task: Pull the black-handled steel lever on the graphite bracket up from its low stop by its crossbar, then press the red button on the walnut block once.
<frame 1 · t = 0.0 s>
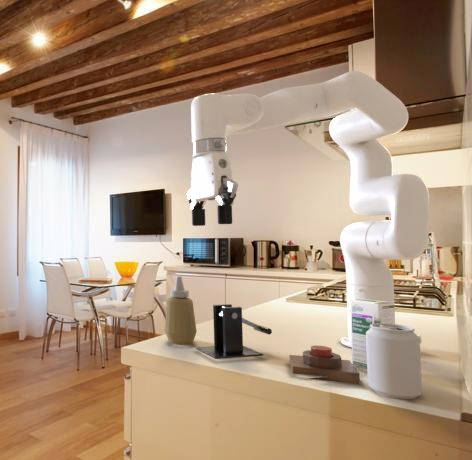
hand: (211, 224, 94), 31 cm above the counter, tool pointing down, fingers open, 9 cm apart
squeeze bottle: (180, 345, 109), on the counter
syrup box: (374, 371, 86), on the counter
button block: (322, 374, 84), on the counter
button: (321, 351, 84), point 4 cm above the counter, slide at 0.1 cm
lever: (243, 320, 99), point 8 cm above the counter, hinge at -25.0°
can: (394, 394, 74), on the counter
bracket: (228, 355, 99), on the counter
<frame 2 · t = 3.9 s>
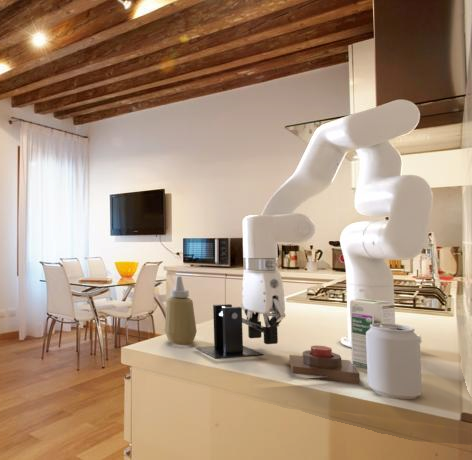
hand: (262, 339, 100), 3 cm above the counter, tool pointing down, fingers closed on lever, 5 cm apart
lever: (243, 320, 99), point 8 cm above the counter, hinge at -25.0°, touching gripper
everything else where it was.
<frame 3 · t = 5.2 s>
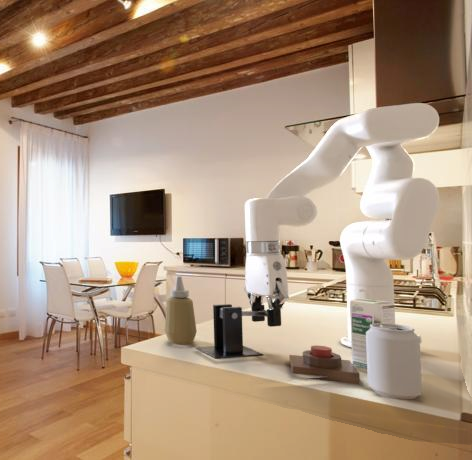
hand: (266, 322, 100), 7 cm above the counter, tool pointing down, fingers closed on lever, 5 cm apart
lever: (245, 313, 99), point 10 cm above the counter, hinge at -2.2°, touching gripper
everything else where it was.
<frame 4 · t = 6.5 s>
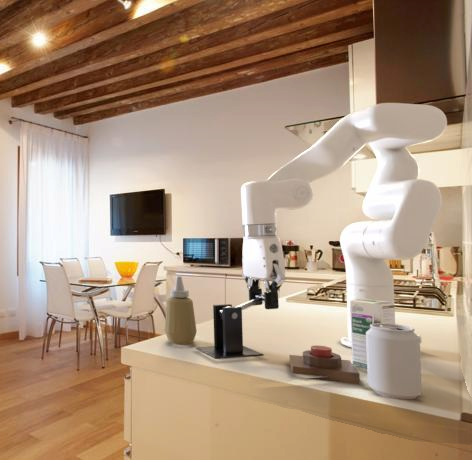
hand: (263, 306, 100), 11 cm above the counter, tool pointing down, fingers closed on lever, 5 cm apart
lever: (243, 306, 99), point 12 cm above the counter, hinge at 20.0°, touching gripper
everything else where it was.
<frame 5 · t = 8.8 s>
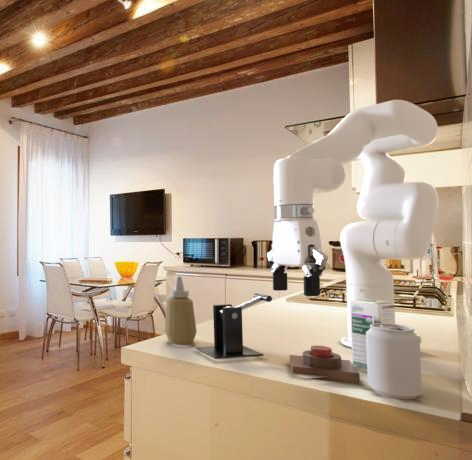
hand: (295, 292, 90), 16 cm above the counter, tool pointing down, fingers open, 9 cm apart
lever: (243, 306, 99), point 12 cm above the counter, hinge at 20.4°
everything else where it was.
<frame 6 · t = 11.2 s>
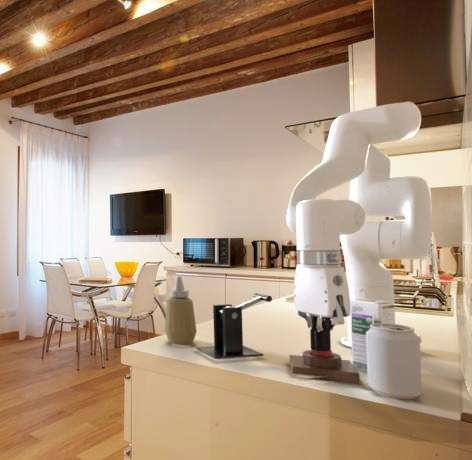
hand: (320, 349, 84), 5 cm above the counter, tool pointing down, fingers closed
button: (321, 353, 84), point 4 cm above the counter, slide at -0.2 cm, touching gripper
everything else where it was.
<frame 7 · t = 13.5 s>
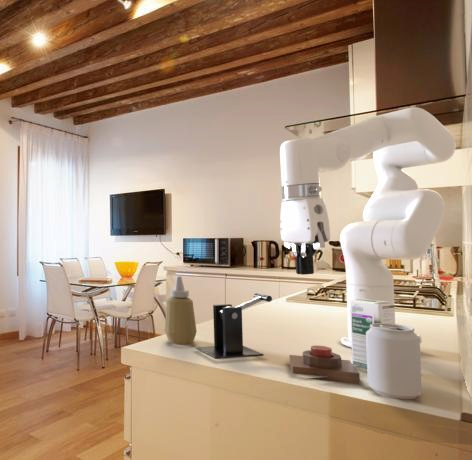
hand: (305, 273, 94), 20 cm above the counter, tool pointing down, fingers closed
button: (321, 351, 84), point 4 cm above the counter, slide at 0.1 cm
everything else where it was.
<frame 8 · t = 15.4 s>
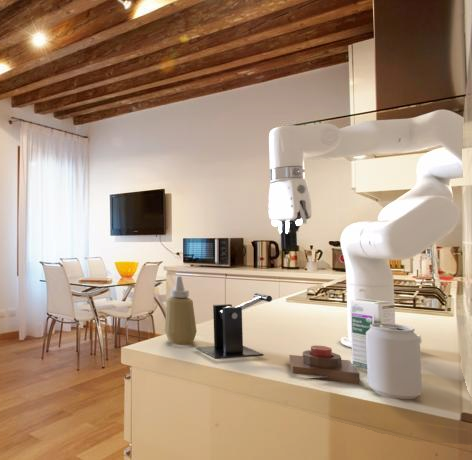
hand: (289, 248, 104), 25 cm above the counter, tool pointing down, fingers closed
nothing on the counter moved.
at the end: lever at +20° (first picture: -25°); button pushed in 1.1 cm at the most during the clip and back out by the end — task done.
